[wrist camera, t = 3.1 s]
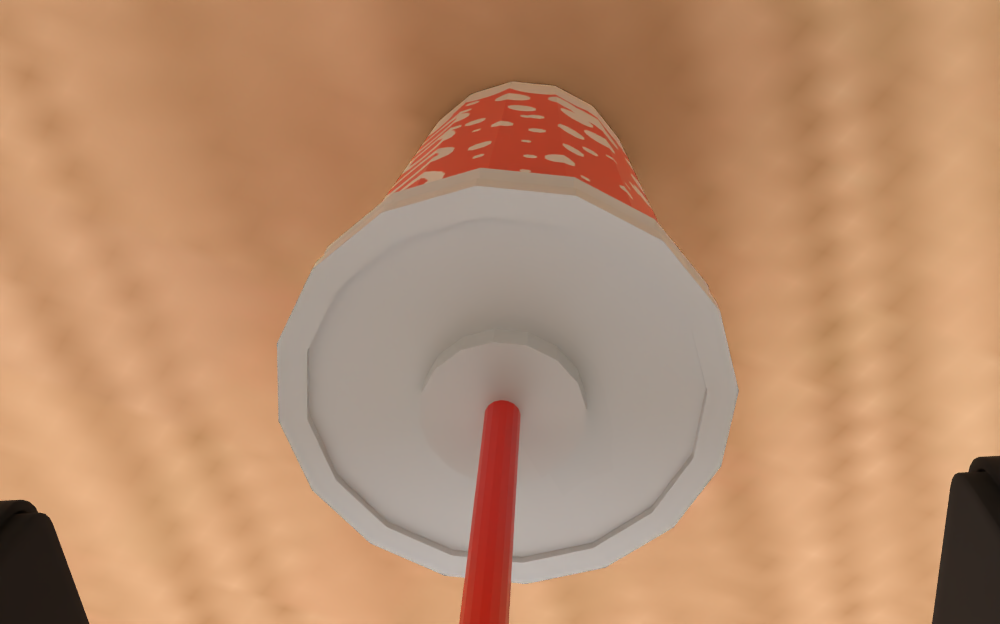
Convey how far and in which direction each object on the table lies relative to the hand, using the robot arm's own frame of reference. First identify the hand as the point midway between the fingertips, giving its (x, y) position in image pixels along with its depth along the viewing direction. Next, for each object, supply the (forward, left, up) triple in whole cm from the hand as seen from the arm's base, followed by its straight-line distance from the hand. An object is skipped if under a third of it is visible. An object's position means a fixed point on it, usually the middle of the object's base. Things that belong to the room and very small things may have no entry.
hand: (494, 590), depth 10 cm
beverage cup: (0, 0, -12) cm, 12 cm away
